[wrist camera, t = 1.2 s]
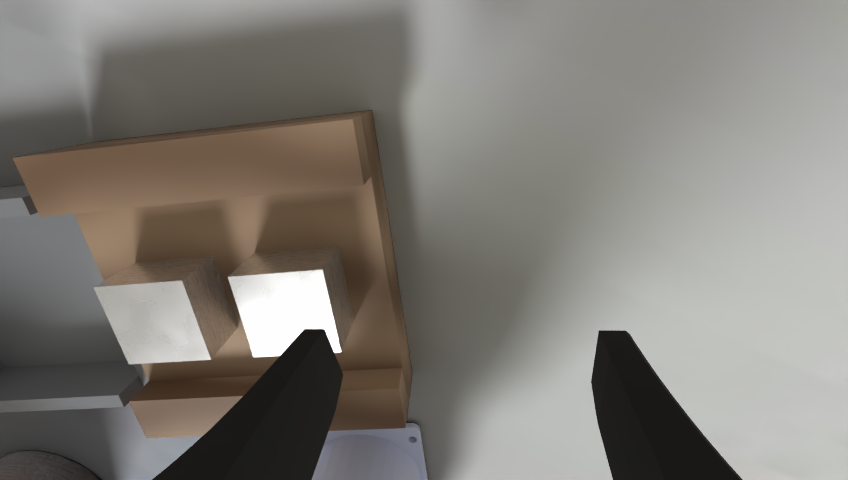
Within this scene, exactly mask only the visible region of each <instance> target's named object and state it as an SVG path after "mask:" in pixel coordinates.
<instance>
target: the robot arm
mask: <svg viewBox="0 0 848 480" xmlns="http://www.w3.org/2000/svg"><path fill="white" fill-rule="evenodd" d="M342 379H343V373H342V370H341V368H340V365H339V363H338V361H337V358H336V356H335V353H334V351H333V348H332V346H331V343H330V341H329V338H328V336H327V334H326V331H325V329H304V330H303V331H302V332H301V333H300V334H299V335H298V336H297V338H296V339H295V340H294V341H293V342H292V343H291V344H290V345H289V346H288V347H287V349H286V350H285V351H284V352H283V353H282V354H281V355H280V356H279V358H278V359H277V360H276V361H275V362H274V363H273V364H272V365H271V366H270V368H269V369H268V370H267V371H266V372H265V373H264V374H263V375H262V376H261V377H260V378H259V380H258V381H257V382H256V383H255V384H254V385H253V386H252V387H251V388H250V389H249V390H248V391H247V392H246V394H245V395H244V396H243V397H242V398H241V399H240V400H239V401H238V402H237V403H236V404H235V405H234V406H233V407H232V408H231V409H230V410H229V411H228V412H227V413H226V414H225V415H224V416H223V417H222V418H221V419H220V420H219V421H218V422H217V423H216V424H215V425H214V426H213V427H212V428H211V429H210V430H209V431H208V432H207V433H206V434H204V435H203V436H202V437H201V438H200V439H199V440H198V441H197V442H196V443H195V444H194V445H193V446H191V447H190V448H189V449H188V450H187V451H186V452H185V453H183V454H182V455H181V456H180V457H179V458H178V459H177V460H175V461H174V462H173V463H172V464H171V465H170V466H168V467H167V468H166V469H165V470H164V471H162V472H161V473H160V474H159V475H157V476H156V477H155V478H154V479H152V480H428V477H427V471H426V464H425V458H424V451H423V445H422V438H421V432H420V428H419V426H418V425H417V424H415V423H406V428H396V429H369V430H343V431H329V428H330V426H331V423H332V420H333V417H334V414H335V411H336V406H337V402H338V398H339V393H340V388H341V384H342ZM591 383H592V390H593V396H594V403H595V409H596V415H597V421H598V425H599V429H600V433H601V437H602V440H603V444H604V448H605V452H606V455H607V459H608V463H609V466H610V470H611V473H612V477H613V480H742V479H741V478H740V476H739V475H738V474H737V473H736V472H735V471H734V470H733V469H732V467H731V466H730V465H729V464H728V463H727V462H726V461H725V460H724V458H723V457H722V456H721V455H720V454H719V453H718V451H717V450H716V449H715V448H714V447H713V446H712V444H711V443H710V442H709V441H708V440H707V439H706V437H705V436H704V435H703V434H702V432H701V431H700V430H699V429H698V428H697V426H696V425H695V424H694V423H693V421H692V420H691V419H690V418H689V416H688V415H687V414H686V412H685V411H684V410H683V409H682V407H681V406H680V405H679V403H678V402H677V401H676V400H675V398H674V397H673V396H672V394H671V393H670V392H669V390H668V389H667V388H666V386H665V385H664V384H663V382H662V381H661V380H660V378H659V377H658V375H657V374H656V373H655V371H654V370H653V368H652V367H651V366H650V364H649V363H648V361H647V360H646V358H645V357H644V355H643V354H642V352H641V351H640V349H639V348H638V346H637V345H636V343H635V342H634V340H633V339H632V337H631V335H630V334H629V333H628V332H627V331H599V334H598V340H597V347H596V354H595V360H594V367H593V374H592V381H591ZM412 437H415V438H412Z"/></svg>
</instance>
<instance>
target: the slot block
mask: <svg viewBox="0 0 848 480" xmlns="http://www.w3.org/2000/svg"><path fill="white" fill-rule="evenodd" d="M12 159H13V161H14V163H15V165H16V167H17V169H18V171H19V173H20V175H21V178H22V180H23V182H24V184H25V186H26V188H27V190H28V192H29V194H30V196H31V198H32V200H33V203H34V205H35V207H36V209H37V211H38V213H39V215H40V217H44V216H54V215H64V214H74V215H75V217H76V219H77V222H78V224H79V226H80V228H81V231H82V233H83V235H84V237H85V240H86V242H87V244H88V246H89V249H90V251H91V253H92V255H93V257H94V260H95V262H96V264H97V266H98V269H99V271H100V273H101V275H102V278H103V280H104V281H105V280H107V279H108V278H110V277H112V276H113V275H115V274H117V273H118V272H120V271H122V270H123V269H125V268H127V267H128V266H130V265H132V264H133V263H135V262H144V261H156V260H168V259H180V258H192V257H204V256H214V257H215V260H216V263H217V266H218V269H219V272H220V275H221V278H222V281H223V284H224V287H225V290H226V294H227V297H228V300H229V303H230V306H231V309H232V312H233V315H234V318H235V321H236V324H237V327H238V328H237V329H236V331H235V332H234V333H233V334H232V335H231V337H230V338H229V339H228V340H227V341H226V343H225V344H224V345H223V346H222V347H221V349H220V350H219V351H218V352H217V353H216V355H215V356H214V357H213V358H212V359H211V360H197V361H180V362H162V363H145V364H141V365H142V367H143V369H144V372H145V374H146V376H147V378H148V380H149V381H148V382H147V384H146V385H145V386H144V387H143V388H142V389H141V390H140V391H139V392H138V393H137V394H136V395H135V396H134V397H133V398H132V399H131V400H130V401H129V403H130V405H131V407H132V409H133V411H134V413H135V415H136V417H137V419H138V421H139V423H140V425H141V428H142V430H143V432H144V434H145V436H146V438H159V437H185V436H203V435H204V434H206V433H207V432H208V431H209V430H210V429H211V428H212V427H213V426H214V425H215V424H216V423H217V422H218V421H219V420H220V419H221V418H222V417H223V416H224V415H225V414H226V413H227V412H228V411H229V410H230V409H231V408H232V407H233V406H234V405H235V404H236V403H237V402H238V401H239V400H240V399H241V398H242V397H243V396H244V395H245V394H246V392H247V391H248V390H249V389H250V388H251V387H252V386H253V385H254V384H255V383H256V382H257V381H258V380H259V378H260V377H261V376H262V375H263V374H264V373H265V372H266V371H267V370H268V369H269V368H270V366H271V365H272V364H273V363H274V362H275V361H276V360H277V359H278V358H279V356H267V357H253V354H252V351H251V348H250V345H249V341H248V338H247V335H246V332H245V329H244V326H243V323H242V320H241V317H240V314H239V310H238V307H237V304H236V301H235V298H234V295H233V292H232V289H231V286H230V282H229V279H228V276H229V275H230V274H231V273H233V272H234V271H235V270H236V269H237V268H238V267H239V266H240V265H241V264H242V263H244V262H245V261H246V260H247V259H248V258H249V257H250V256H251V255H252V254H253V253H254V252H264V251H276V250H288V249H300V248H312V247H324V246H336V245H338V246H339V251H340V255H341V260H342V265H343V270H344V275H345V280H346V285H347V290H348V294H349V299H350V304H351V309H352V314H353V319H354V321H353V324H352V326H351V329H350V331H349V334H348V336H347V339H346V342H345V344H344V347H343V349H342V352H337V353H335V356H336V358H337V361H338V363H339V365H340V368H341V370H342V373H343V379H342V384H341V388H340V393H339V398H338V402H337V406H336V411H335V414H334V417H333V420H332V423H331V426H330V428H329V431H343V430H369V429H396V428H406V421H407V413H408V405H409V397H410V389H411V381H412V368H411V362H410V355H409V348H408V342H407V335H406V329H405V322H404V316H403V309H402V303H401V296H400V290H399V283H398V277H397V270H396V264H395V257H394V250H393V244H392V237H391V231H390V224H389V218H388V211H387V205H386V198H385V192H384V185H383V179H382V172H381V166H380V159H379V152H378V146H377V139H376V133H375V126H374V120H373V113H372V110H368V111H359V112H351V113H342V114H333V115H325V116H316V117H307V118H299V119H290V120H281V121H273V122H264V123H255V124H247V125H238V126H229V127H221V128H212V129H204V130H195V131H186V132H178V133H169V134H160V135H152V136H143V137H134V138H126V139H117V140H108V141H100V142H92V143H86V144H81V145H76V146H71V147H66V148H61V149H55V150H50V151H45V152H40V153H35V154H30V155H24V156H19V157H14V158H12Z"/></svg>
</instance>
